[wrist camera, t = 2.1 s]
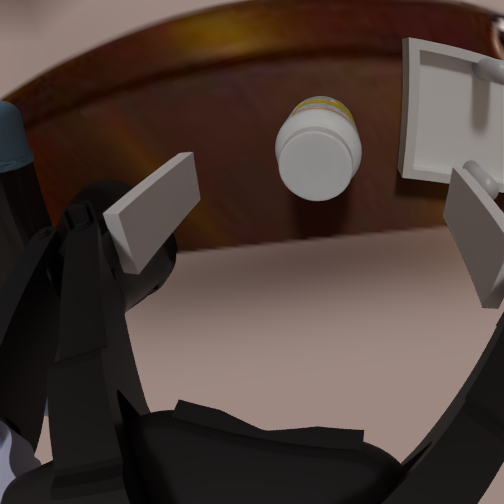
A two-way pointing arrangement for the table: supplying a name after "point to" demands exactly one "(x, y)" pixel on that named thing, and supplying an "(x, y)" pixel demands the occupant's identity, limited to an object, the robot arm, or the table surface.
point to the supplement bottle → (318, 149)
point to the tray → (451, 115)
